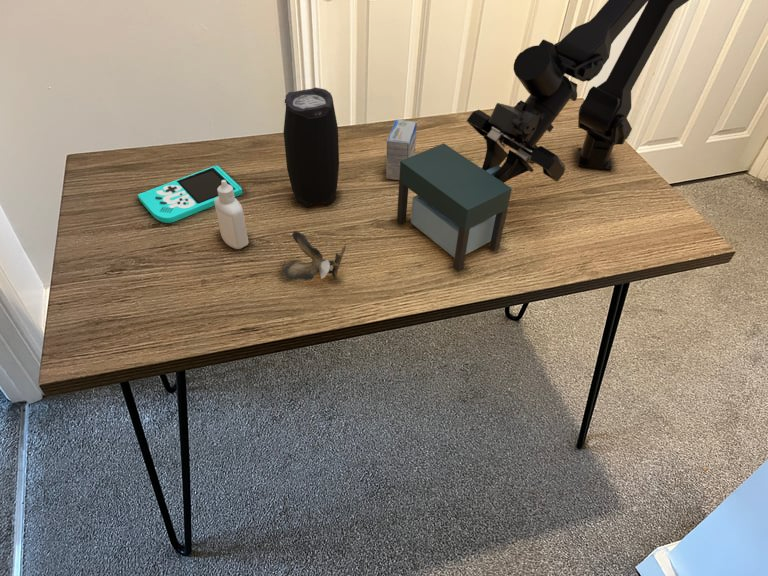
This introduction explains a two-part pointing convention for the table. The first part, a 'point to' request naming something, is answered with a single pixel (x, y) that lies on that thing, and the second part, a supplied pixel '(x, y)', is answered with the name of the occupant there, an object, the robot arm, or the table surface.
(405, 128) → the medicine box
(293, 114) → the portable speaker
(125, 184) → the table surface
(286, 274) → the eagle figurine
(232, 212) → the eye dropper bottle
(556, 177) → the robot arm
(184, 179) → the handheld game console
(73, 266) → the table surface
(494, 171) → the drawer
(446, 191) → the cabinet
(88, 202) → the table surface
